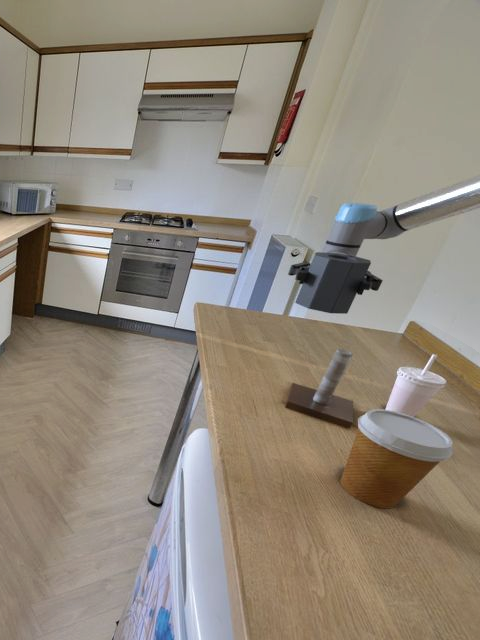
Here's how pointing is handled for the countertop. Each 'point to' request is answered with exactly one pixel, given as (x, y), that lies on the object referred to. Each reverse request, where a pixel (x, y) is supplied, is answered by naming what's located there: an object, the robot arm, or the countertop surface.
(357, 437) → the disposable coffee cup
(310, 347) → the countertop surface
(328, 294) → the grey hollow prism
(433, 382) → the smoothie
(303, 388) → the towel holder
